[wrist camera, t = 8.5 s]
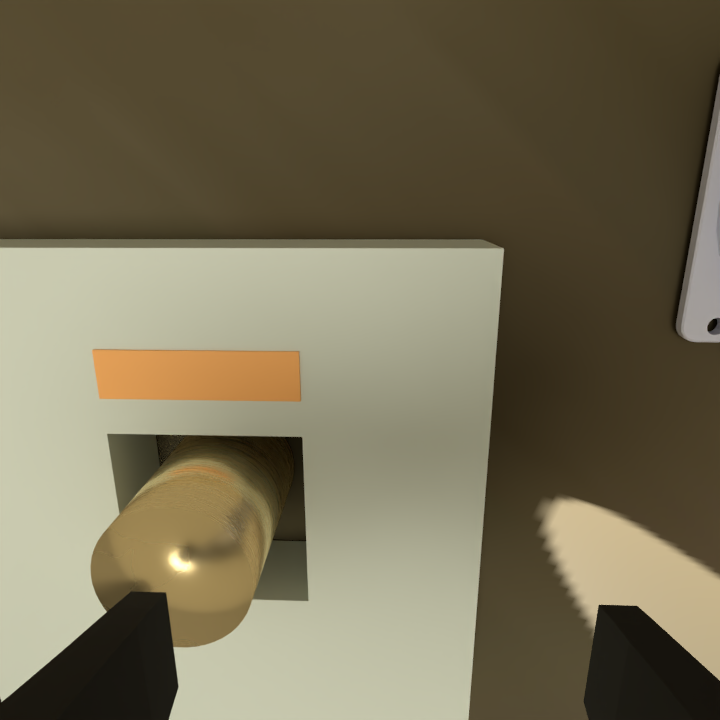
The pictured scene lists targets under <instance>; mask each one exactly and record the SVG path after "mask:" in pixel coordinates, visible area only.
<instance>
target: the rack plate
mask: <svg viewBox="0 0 720 720" xmlns="http://www.w3.org/2000/svg"><path fill="white" fill-rule="evenodd" d="M503 255H504V248H502V247H499V246H497V245H494V244H492V243H490V242H487V241H485V240H482V239H0V699H1V702H2V701H3V700H5V699H6V698H7V697H8V696H10V695H11V694H12V693H13V692H14V691H16V690H17V689H18V688H19V687H20V686H21V685H23V684H24V683H25V682H26V681H27V680H29V679H30V678H31V677H32V676H33V675H34V674H36V673H37V672H38V671H39V670H40V669H41V668H43V667H44V666H45V665H46V664H47V663H49V662H50V661H51V660H52V659H53V658H54V657H56V656H57V655H58V654H59V653H60V652H61V651H63V650H64V649H65V648H66V647H67V646H68V645H70V644H71V643H72V642H73V641H74V640H75V639H76V638H78V637H79V636H80V635H81V634H82V633H83V632H84V631H86V630H87V629H88V628H89V627H90V626H91V625H92V624H94V623H95V622H96V621H97V620H98V619H99V618H100V617H102V616H103V615H104V614H105V613H106V612H107V611H106V610H105V609H104V607H103V606H102V604H101V603H100V601H99V599H98V597H97V595H96V593H95V590H94V587H93V584H92V579H91V569H90V565H91V557H92V554H93V550H94V548H95V546H96V544H97V541H98V540H99V538H100V537H101V536H102V534H103V533H104V532H105V531H106V529H107V528H108V527H109V526H110V525H111V523H112V522H113V521H114V520H115V519H116V518H117V516H118V515H119V514H120V513H121V512H122V511H123V509H124V508H125V507H126V506H127V505H128V504H129V502H130V501H131V500H132V499H133V498H134V497H135V495H136V494H137V493H138V492H139V491H140V489H141V488H142V487H143V486H144V485H145V484H146V482H147V481H148V480H149V479H150V478H151V477H152V475H153V474H154V473H155V472H156V471H157V470H158V468H159V467H160V463H159V455H158V447H157V439H156V435H218V436H279V437H302V439H303V466H304V493H305V520H306V541H277V540H272V543H271V546H270V549H269V552H268V555H267V558H266V561H265V564H264V567H263V570H262V573H261V576H260V579H259V582H258V585H257V588H256V591H255V593H254V596H253V599H252V602H251V605H250V608H249V610H248V613H247V614H246V616H245V618H244V619H243V621H242V622H241V623H240V624H239V626H238V627H237V628H236V629H234V630H233V631H232V632H231V633H230V634H228V635H227V636H225V637H223V638H222V639H219V640H217V641H215V642H213V643H209V644H206V645H202V646H197V647H186V648H185V647H173V648H174V655H175V663H176V670H177V678H178V686H179V687H178V690H177V694H176V697H175V700H174V704H173V707H172V710H171V714H170V717H169V720H468V717H469V704H470V690H471V677H472V664H473V651H474V638H475V624H476V611H477V598H478V585H479V572H480V558H481V545H482V532H483V519H484V506H485V492H486V479H487V466H488V453H489V440H490V426H491V413H492V400H493V387H494V373H495V360H496V347H497V334H498V321H499V307H500V294H501V281H502V268H503Z"/></svg>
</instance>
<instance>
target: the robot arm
mask: <svg viewBox="0 0 720 720" xmlns="http://www.w3.org/2000/svg"><path fill="white" fill-rule="evenodd" d="M715 318H717V323H718V324H717V326H716V328H715V329H713V330H712V331H709V332H708V331H707V326H708V323H709V322H710V321H711V320H712V319H715ZM676 330H677V332H678V334H679V335H680V336H681V337H682V338H684V339H686V340H688V341H692V342H720V76H719V82H718V88H717V93H716V99H715V105H714V110H713V116H712V122H711V127H710V133H709V139H708V145H707V150H706V156H705V162H704V167H703V173H702V179H701V184H700V190H699V196H698V201H697V207H696V213H695V218H694V224H693V230H692V235H691V241H690V247H689V252H688V258H687V264H686V269H685V275H684V281H683V286H682V292H681V298H680V304H679V309H678V315H677V321H676ZM178 687H179V686H178V678H177V670H176V663H175V655H174V648H173V640H172V632H171V625H170V617H169V610H168V602H167V595H166V592H135V591H131V592H130V593H129V594H127V595H126V596H125V597H124V598H123V599H121V600H120V601H119V602H118V603H117V604H115V605H114V606H113V607H112V608H111V609H110V610H108V611H107V612H106V613H105V614H104V615H103V616H102V617H100V618H99V619H98V620H97V621H96V622H95V623H94V624H92V625H91V626H90V627H89V628H88V629H87V630H86V631H84V632H83V633H82V634H81V635H80V636H79V637H78V638H76V639H75V640H74V641H73V642H72V643H71V644H70V645H68V646H67V647H66V648H65V649H64V650H63V651H61V652H60V653H59V654H58V655H57V656H56V657H54V658H53V659H52V660H51V661H50V662H49V663H47V664H46V665H45V666H44V667H43V668H41V669H40V670H39V671H38V672H37V673H36V674H34V675H33V676H32V677H31V678H30V679H29V680H27V681H26V682H25V683H24V684H23V685H21V686H20V687H19V688H18V689H17V690H16V691H14V692H13V693H12V694H11V695H10V696H8V697H7V698H6V699H5V700H3V701H2V702H1V703H0V720H169V717H170V714H171V710H172V707H173V704H174V700H175V697H176V694H177V690H178ZM584 704H585V708H586V711H587V715H588V718H589V720H720V681H719V680H718V679H717V678H716V677H715V676H714V675H713V674H712V673H710V671H708V670H707V669H706V668H705V667H704V666H703V665H702V664H701V663H699V661H697V660H696V659H695V658H694V657H693V656H692V655H691V654H690V653H689V652H688V651H686V650H685V649H684V648H683V647H682V646H681V645H680V644H679V643H678V642H677V641H675V640H674V639H673V638H672V637H671V636H670V635H669V634H668V633H667V632H666V631H665V630H663V629H662V628H661V627H660V626H659V625H658V624H657V623H656V622H655V621H654V620H652V619H651V618H650V617H649V616H648V615H647V614H646V613H645V612H643V611H642V610H641V609H640V608H639V607H638V606H620V605H599V608H598V613H597V620H596V626H595V633H594V639H593V645H592V652H591V658H590V664H589V671H588V677H587V683H586V690H585V696H584Z"/></svg>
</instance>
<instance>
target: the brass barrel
mask: <svg viewBox="0 0 720 720" xmlns="http://www.w3.org/2000/svg"><path fill="white" fill-rule="evenodd" d="M293 476H294V458H293V454H292V451H291V448H290V446H289V444H288V442H287V440H286V439H285V437H279V436H218V435H187V436H186V437H185V438H184V439H183V440H182V441H181V443H180V444H179V445H178V446H177V447H176V448H175V450H174V451H173V452H172V453H171V454H170V455H169V457H168V458H167V459H166V460H165V461H164V463H163V464H162V465H161V466H160V467H159V468H158V470H157V471H156V472H155V473H154V474H153V475H152V477H151V478H150V479H149V480H148V481H147V482H146V484H145V485H144V486H143V487H142V488H141V489H140V491H139V492H138V493H137V494H136V495H135V497H134V498H133V499H132V500H131V501H130V502H129V504H128V505H127V506H126V507H125V508H124V509H123V511H122V512H121V513H120V514H119V515H118V516H117V518H116V519H115V520H114V521H113V522H112V523H111V525H110V526H109V527H108V528H107V529H106V531H105V532H104V533H103V534H102V536H101V537H100V538H99V540H98V541H97V544H96V546H95V548H94V550H93V554H92V557H91V565H90V569H91V579H92V584H93V587H94V590H95V593H96V595H97V597H98V599H99V601H100V603H101V604H102V606H103V607H104V609H105V610H106V611H108V610H110V609H111V608H112V607H113V606H114V605H115V604H117V603H118V602H119V601H120V600H121V599H123V598H124V597H125V596H126V595H127V594H129V593H130V592H131V591H135V592H166V595H167V602H168V610H169V617H170V625H171V632H172V640H173V647H185V648H186V647H197V646H202V645H206V644H209V643H213V642H215V641H217V640H219V639H222V638H223V637H225V636H227V635H228V634H230V633H231V632H232V631H233V630H234V629H236V628H237V627H238V626H239V624H240V623H241V622H242V621H243V619H244V618H245V616H246V614H247V613H248V610H249V608H250V605H251V602H252V599H253V596H254V593H255V591H256V588H257V585H258V582H259V579H260V576H261V573H262V570H263V567H264V564H265V561H266V558H267V555H268V552H269V549H270V546H271V543H272V540H273V537H274V534H275V531H276V528H277V525H278V522H279V519H280V516H281V513H282V510H283V507H284V504H285V501H286V498H287V495H288V492H289V490H290V487H291V484H292V480H293Z"/></svg>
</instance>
